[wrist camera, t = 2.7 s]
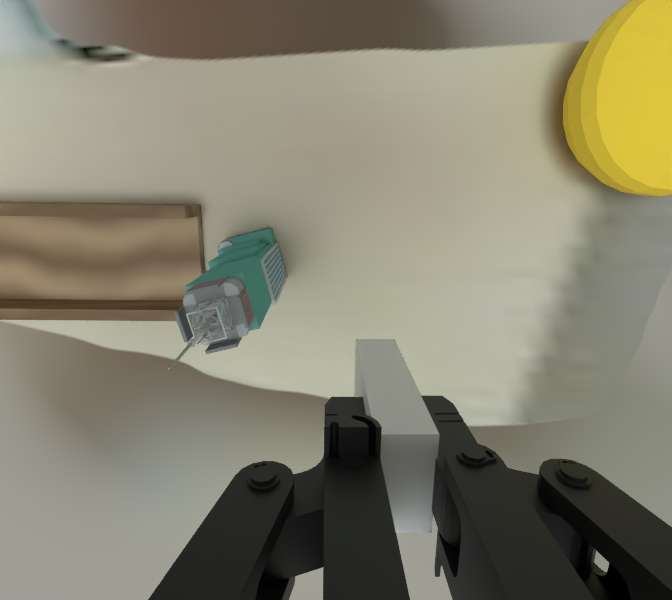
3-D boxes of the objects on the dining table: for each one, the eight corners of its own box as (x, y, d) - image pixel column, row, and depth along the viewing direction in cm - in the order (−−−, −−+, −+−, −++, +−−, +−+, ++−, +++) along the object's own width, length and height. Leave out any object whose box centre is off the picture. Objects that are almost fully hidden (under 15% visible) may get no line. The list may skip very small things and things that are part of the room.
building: (238, 288, 49) (112, 429, 20) (223, 239, 47) (63, 313, 18) (287, 276, 49) (233, 401, 20) (273, 226, 47) (193, 282, 18)
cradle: (-55, 200, 46) (-105, 201, 40) (200, 204, 46) (184, 206, 41) (-32, 304, 49) (-76, 318, 43) (207, 307, 49) (193, 321, 44)
